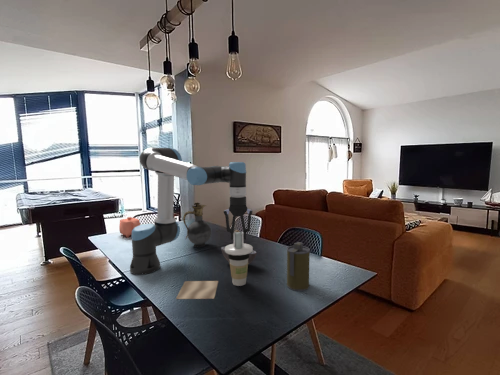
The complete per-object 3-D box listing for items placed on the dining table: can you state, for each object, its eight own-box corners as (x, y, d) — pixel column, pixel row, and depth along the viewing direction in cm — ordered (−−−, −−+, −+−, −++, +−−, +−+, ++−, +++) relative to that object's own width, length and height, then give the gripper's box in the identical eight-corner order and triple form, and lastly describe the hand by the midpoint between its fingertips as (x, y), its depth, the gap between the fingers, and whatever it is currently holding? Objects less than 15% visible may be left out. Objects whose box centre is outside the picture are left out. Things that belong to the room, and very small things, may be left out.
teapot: (116, 233, 209) (115, 216, 208) (132, 230, 218) (131, 213, 217) (127, 239, 194) (126, 220, 193) (144, 235, 203) (143, 217, 202)
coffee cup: (247, 289, 119) (246, 257, 117) (226, 287, 120) (225, 255, 119) (251, 279, 128) (251, 249, 126) (231, 277, 130) (231, 248, 128)
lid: (223, 255, 116) (223, 237, 115) (225, 245, 129) (225, 229, 128) (253, 255, 116) (252, 237, 115) (252, 245, 129) (252, 229, 128)
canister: (293, 278, 129) (294, 238, 127) (313, 284, 122) (314, 242, 120) (281, 286, 121) (281, 244, 118) (302, 294, 114) (302, 249, 112)
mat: (175, 299, 110) (175, 298, 110) (184, 282, 126) (184, 281, 126) (214, 299, 110) (214, 298, 110) (218, 281, 126) (218, 280, 126)
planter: (220, 262, 150) (219, 227, 148) (248, 258, 156) (247, 224, 154) (227, 272, 136) (227, 234, 134) (257, 267, 142) (257, 231, 140)
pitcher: (213, 245, 180) (212, 201, 177) (188, 251, 168) (186, 205, 164) (205, 241, 188) (204, 199, 185) (180, 247, 176) (178, 202, 172)
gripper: (219, 197, 116) (220, 249, 119) (256, 197, 116) (256, 248, 119) (220, 195, 123) (221, 243, 126) (255, 194, 124) (255, 243, 126)
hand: (238, 246), depth 122 cm, fingers closed on lid, 3 cm apart
